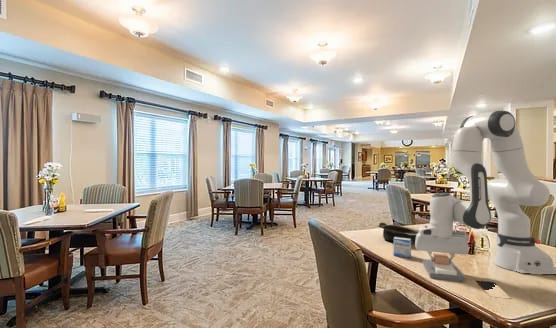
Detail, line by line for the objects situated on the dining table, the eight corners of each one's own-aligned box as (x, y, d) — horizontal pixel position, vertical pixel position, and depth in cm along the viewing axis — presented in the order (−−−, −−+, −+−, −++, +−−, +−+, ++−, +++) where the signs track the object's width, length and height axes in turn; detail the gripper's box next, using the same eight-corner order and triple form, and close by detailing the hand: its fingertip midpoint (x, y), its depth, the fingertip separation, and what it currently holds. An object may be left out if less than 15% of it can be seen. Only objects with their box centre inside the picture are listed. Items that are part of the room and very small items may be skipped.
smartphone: (489, 296, 99) (474, 279, 113) (489, 297, 99) (474, 281, 113) (513, 299, 97) (494, 282, 111) (513, 300, 98) (494, 283, 111)
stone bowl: (370, 239, 169) (371, 224, 170) (390, 235, 186) (390, 221, 186) (413, 248, 151) (413, 231, 151) (430, 242, 168) (431, 227, 168)
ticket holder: (452, 266, 128) (452, 258, 128) (464, 281, 112) (464, 272, 112) (422, 263, 131) (423, 255, 131) (430, 277, 115) (430, 269, 115)
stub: (445, 263, 125) (445, 254, 125) (448, 267, 120) (448, 257, 120) (433, 262, 127) (433, 253, 127) (435, 266, 122) (435, 256, 122)
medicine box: (393, 255, 142) (393, 238, 142) (394, 253, 146) (394, 236, 146) (410, 258, 138) (410, 240, 138) (411, 255, 142) (411, 238, 142)
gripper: (466, 230, 123) (466, 262, 123) (414, 227, 129) (414, 257, 130) (471, 234, 117) (470, 267, 117) (416, 230, 123) (416, 262, 124)
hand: (440, 262), depth 124 cm, fingers closed on stub, 5 cm apart
